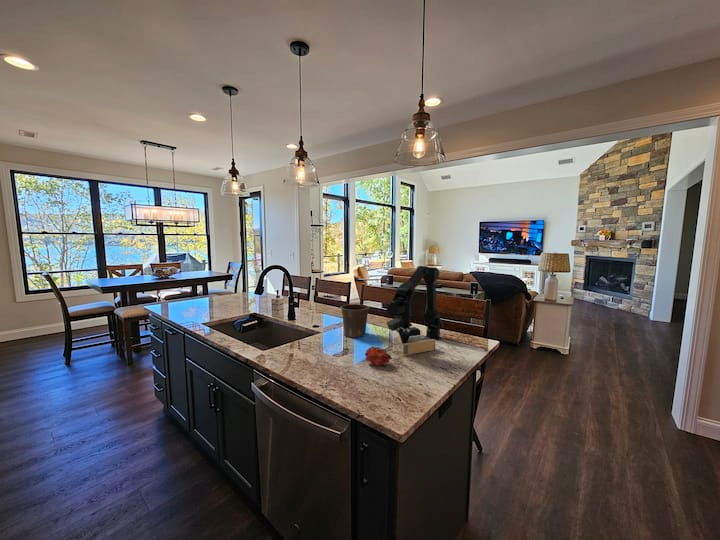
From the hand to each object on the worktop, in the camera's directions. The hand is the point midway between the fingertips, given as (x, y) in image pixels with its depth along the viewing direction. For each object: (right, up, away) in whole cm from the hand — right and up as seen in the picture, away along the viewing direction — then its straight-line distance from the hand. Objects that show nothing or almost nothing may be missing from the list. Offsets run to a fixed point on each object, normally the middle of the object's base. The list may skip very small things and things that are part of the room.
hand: (403, 344), depth 142 cm
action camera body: (+8, -3, +5) cm, 10 cm away
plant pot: (-24, -1, +27) cm, 36 cm away
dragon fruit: (-13, -5, -14) cm, 20 cm away
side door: (+7, -3, -1) cm, 8 cm away
